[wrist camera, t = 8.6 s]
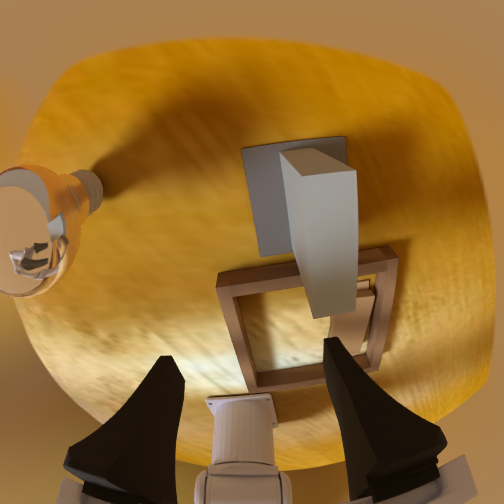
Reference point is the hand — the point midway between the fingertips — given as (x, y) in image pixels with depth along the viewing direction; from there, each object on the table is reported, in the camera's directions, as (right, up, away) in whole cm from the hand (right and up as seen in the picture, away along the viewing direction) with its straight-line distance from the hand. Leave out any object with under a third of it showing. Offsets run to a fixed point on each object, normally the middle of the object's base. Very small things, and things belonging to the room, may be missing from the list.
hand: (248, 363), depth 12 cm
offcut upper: (+9, -1, +12) cm, 15 cm away
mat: (+4, +9, +7) cm, 12 cm away
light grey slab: (+4, +9, +6) cm, 11 cm away
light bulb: (-12, +10, +6) cm, 17 cm away
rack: (+6, -2, +12) cm, 13 cm away
